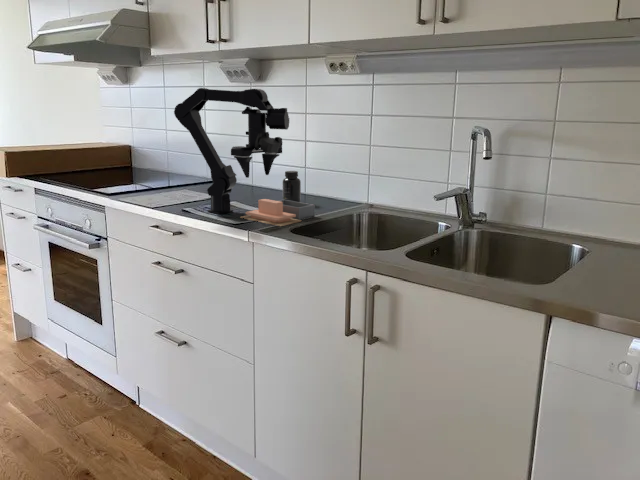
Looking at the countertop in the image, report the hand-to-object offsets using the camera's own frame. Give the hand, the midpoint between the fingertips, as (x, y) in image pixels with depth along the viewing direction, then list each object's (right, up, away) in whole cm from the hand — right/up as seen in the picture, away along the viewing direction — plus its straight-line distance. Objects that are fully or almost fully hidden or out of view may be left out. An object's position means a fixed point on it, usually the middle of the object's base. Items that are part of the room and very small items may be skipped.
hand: (257, 176), depth 185 cm
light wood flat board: (+5, -15, -4) cm, 16 cm away
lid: (+5, -13, -5) cm, 15 cm away
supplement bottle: (+10, -7, +25) cm, 28 cm away
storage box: (+11, -13, +3) cm, 17 cm away
